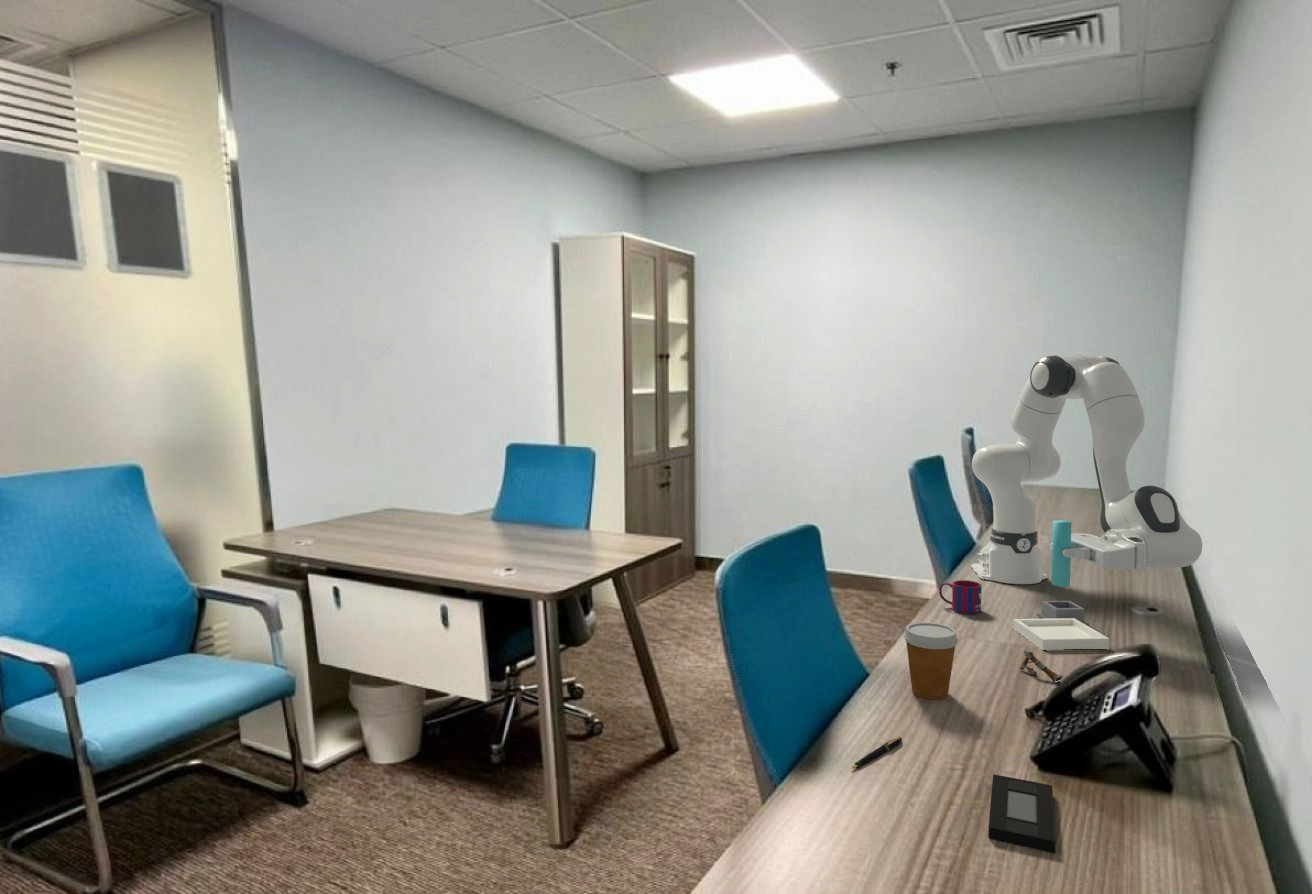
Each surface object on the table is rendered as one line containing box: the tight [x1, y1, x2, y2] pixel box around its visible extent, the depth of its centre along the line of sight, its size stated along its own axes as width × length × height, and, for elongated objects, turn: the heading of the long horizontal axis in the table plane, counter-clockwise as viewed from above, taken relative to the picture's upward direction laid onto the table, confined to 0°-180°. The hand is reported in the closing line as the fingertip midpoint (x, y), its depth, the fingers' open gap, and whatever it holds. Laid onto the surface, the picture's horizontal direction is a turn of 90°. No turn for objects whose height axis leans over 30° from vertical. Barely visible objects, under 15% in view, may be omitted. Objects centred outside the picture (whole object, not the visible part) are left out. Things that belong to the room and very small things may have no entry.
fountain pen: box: [850, 736, 903, 769], centre depth 118 cm, size 14×1×2 cm, turn 131°
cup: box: [938, 579, 983, 615], centre depth 191 cm, size 7×10×7 cm
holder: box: [1037, 600, 1090, 627], centre depth 180 cm, size 8×8×4 cm
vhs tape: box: [987, 774, 1056, 854], centre depth 101 cm, size 8×14×2 cm, turn 154°
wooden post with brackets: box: [1019, 649, 1064, 684], centre depth 148 cm, size 2×8×4 cm, turn 29°
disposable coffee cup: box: [903, 622, 959, 700], centre depth 141 cm, size 10×10×12 cm
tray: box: [1012, 618, 1110, 651], centre depth 168 cm, size 14×14×2 cm
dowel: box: [1051, 519, 1072, 588], centre depth 167 cm, size 4×4×14 cm
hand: (1057, 550), depth 167 cm, fingers closed on dowel, 4 cm apart
